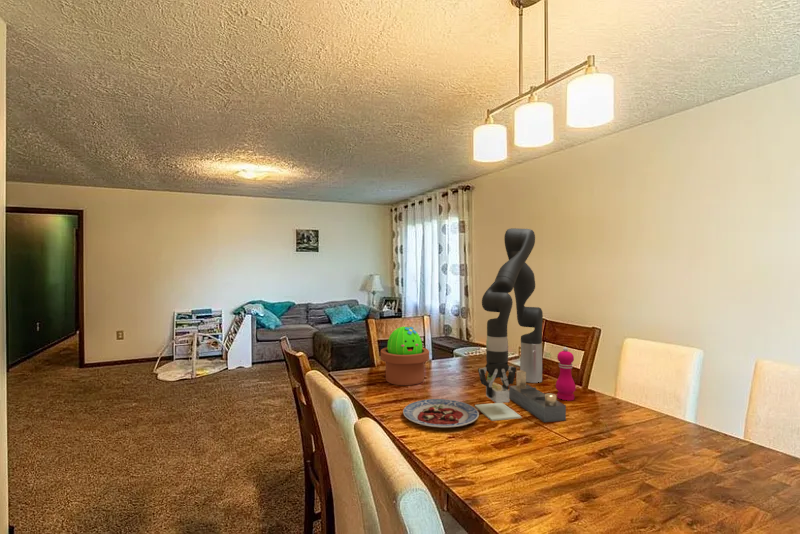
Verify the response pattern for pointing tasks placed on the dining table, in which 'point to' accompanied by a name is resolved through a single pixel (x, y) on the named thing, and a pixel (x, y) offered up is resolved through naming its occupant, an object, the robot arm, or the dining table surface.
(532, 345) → the robot arm
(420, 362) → the potted cactus
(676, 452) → the dining table surface
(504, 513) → the dining table surface
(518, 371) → the hand plane
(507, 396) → the white rectangular block
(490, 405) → the rubber mat
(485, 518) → the dining table surface
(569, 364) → the pepper mill
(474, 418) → the ceramic plate
